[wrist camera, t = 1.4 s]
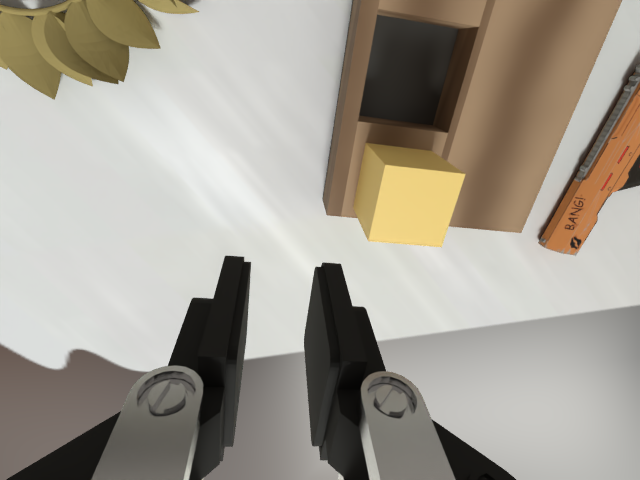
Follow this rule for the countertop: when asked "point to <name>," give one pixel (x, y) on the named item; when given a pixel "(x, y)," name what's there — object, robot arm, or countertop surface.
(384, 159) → the block
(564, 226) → the toy gun
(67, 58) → the headpiece
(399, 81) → the wooden tray
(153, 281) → the countertop surface
